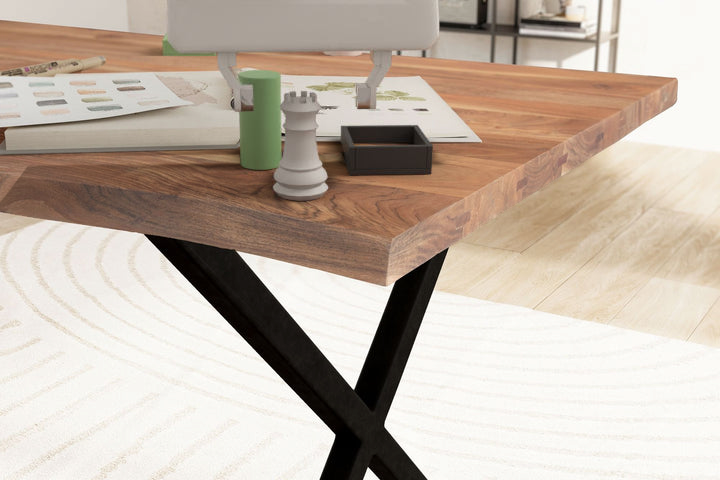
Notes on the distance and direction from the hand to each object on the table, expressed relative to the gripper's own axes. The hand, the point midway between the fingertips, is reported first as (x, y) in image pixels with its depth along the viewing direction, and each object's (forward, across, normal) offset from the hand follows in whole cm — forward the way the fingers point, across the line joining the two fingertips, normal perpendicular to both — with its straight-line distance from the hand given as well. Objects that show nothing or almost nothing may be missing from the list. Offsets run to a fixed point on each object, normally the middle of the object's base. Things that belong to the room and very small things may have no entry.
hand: (305, 109), depth 69 cm
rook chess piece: (+7, 0, 0) cm, 7 cm away
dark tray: (+7, -8, -8) cm, 13 cm away
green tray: (+7, +12, -62) cm, 64 cm away
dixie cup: (+7, -10, -63) cm, 64 cm away
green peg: (+7, +3, -8) cm, 11 cm away
